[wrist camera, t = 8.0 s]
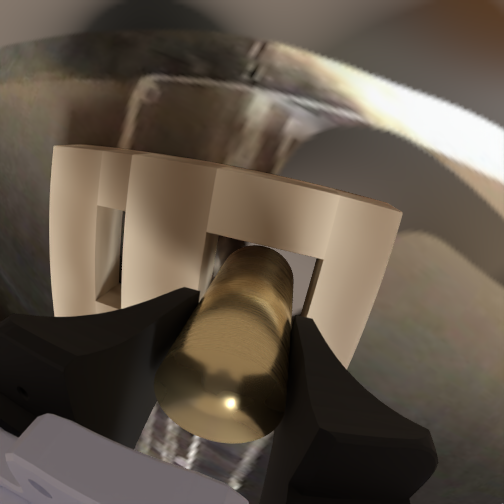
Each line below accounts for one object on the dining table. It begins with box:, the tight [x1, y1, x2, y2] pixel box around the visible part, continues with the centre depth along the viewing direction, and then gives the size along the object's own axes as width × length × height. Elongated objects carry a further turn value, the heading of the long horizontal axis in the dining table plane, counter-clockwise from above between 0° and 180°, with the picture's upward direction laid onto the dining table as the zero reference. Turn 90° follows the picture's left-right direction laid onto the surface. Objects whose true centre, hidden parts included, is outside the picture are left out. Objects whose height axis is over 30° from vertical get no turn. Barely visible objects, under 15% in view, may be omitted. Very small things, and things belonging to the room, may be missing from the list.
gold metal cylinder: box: [154, 245, 293, 443], centre depth 11 cm, size 3×3×8 cm
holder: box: [49, 144, 403, 370], centre depth 15 cm, size 16×10×2 cm, turn 79°
